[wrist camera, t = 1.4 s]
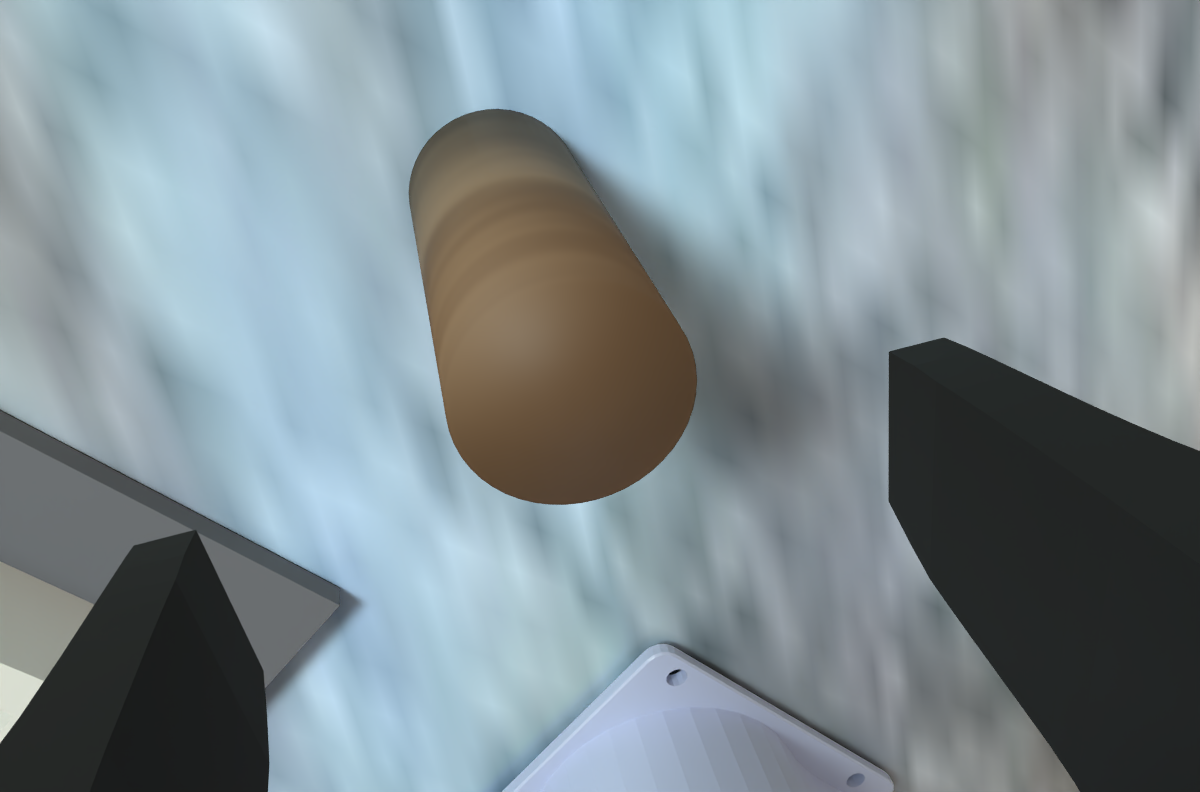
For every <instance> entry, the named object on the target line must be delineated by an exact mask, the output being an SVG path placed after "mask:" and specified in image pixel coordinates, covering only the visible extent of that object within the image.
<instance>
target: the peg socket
mask: <svg viewBox="0 0 1200 792" xmlns="http://www.w3.org/2000/svg"><path fill="white" fill-rule="evenodd" d="M192 530H196V531H197V533H198V535H199V537H200V539H201V541H202V543H203V545H204V547H205V549H206V551H207V554H208V556H209V558H210V560H211V562H212V564H213V566H214V568H215V570H216V572H217V574H218V576H219V579H220V581H221V583H222V585H223V587H224V589H225V591H226V593H227V595H228V597H229V599H230V602H231V604H232V606H233V608H234V610H235V612H236V614H237V616H238V618H239V620H240V622H241V625H242V627H243V629H244V631H245V633H246V635H247V637H248V639H249V641H250V643H251V645H252V648H253V650H254V652H255V654H256V656H257V658H258V660H259V662H260V664H261V666H262V668H263V671H264V684H265V688H266V687H267V686H268V685H269V684H270V682H271V681H272V680H273V679H274V678H275V677H276V676H277V675H278V674H279V672H280V671H281V670H282V669H283V668H284V667H285V666H286V665H287V664H288V662H289V661H290V660H291V659H292V658H293V657H294V656H295V655H296V654H297V652H298V651H299V650H300V649H301V648H302V647H303V646H304V645H305V644H306V642H307V641H308V640H309V639H310V638H311V637H312V636H313V635H314V634H315V632H316V631H317V630H318V629H319V628H320V627H321V626H322V625H323V624H324V622H325V621H326V620H327V619H328V618H329V617H330V616H331V615H332V614H333V612H334V611H335V610H336V609H337V608H338V607H339V606H340V588H339V587H337V586H335V585H333V584H331V583H329V582H327V581H325V580H323V579H322V578H320V577H318V576H316V575H314V574H312V573H310V572H308V571H306V570H304V569H302V568H300V567H299V566H297V565H295V564H293V563H291V562H289V561H287V560H285V559H283V558H281V557H279V556H278V555H276V554H274V553H272V552H270V551H268V550H266V549H264V548H262V547H260V546H258V545H256V544H255V543H253V542H251V541H249V540H247V539H245V538H243V537H241V536H239V535H237V534H235V533H233V532H232V531H230V530H228V529H226V528H224V527H222V526H220V525H218V524H216V523H214V522H212V521H210V520H209V519H207V518H205V517H203V516H201V515H199V514H197V513H195V512H193V511H191V510H189V509H188V508H186V507H184V506H182V505H180V504H178V503H176V502H174V501H172V500H170V499H168V498H166V497H165V496H163V495H161V494H159V493H157V492H155V491H153V490H151V489H149V488H147V487H145V486H143V485H142V484H140V483H138V482H136V481H134V480H132V479H130V478H128V477H126V476H124V475H122V474H121V473H119V472H117V471H115V470H113V469H111V468H109V467H107V466H105V465H103V464H101V463H99V462H98V461H96V460H94V459H92V458H90V457H88V456H86V455H84V454H82V453H80V452H78V451H76V450H75V449H73V448H71V447H69V446H67V445H65V444H63V443H61V442H59V441H57V440H55V439H54V438H52V437H50V436H48V435H46V434H44V433H42V432H40V431H38V430H36V429H34V428H32V427H31V426H29V425H27V424H25V423H23V422H21V421H19V420H17V419H15V418H13V417H11V416H9V415H8V414H6V413H4V412H2V411H0V743H1V741H2V740H3V739H4V737H5V736H6V735H7V733H8V732H9V730H10V729H11V728H12V726H13V725H14V724H15V722H16V721H17V720H18V718H19V717H20V716H21V714H22V713H23V711H24V710H25V708H26V707H27V705H28V704H29V702H30V701H31V699H32V698H33V696H34V695H35V694H36V692H37V691H38V689H39V688H40V686H41V685H42V683H43V682H44V680H45V679H46V677H47V676H48V674H49V673H50V671H51V670H52V668H53V667H54V665H55V664H56V663H57V661H58V660H59V658H60V657H61V655H62V654H63V652H64V650H65V649H66V647H67V646H68V644H69V643H70V641H71V640H72V638H73V637H74V635H75V634H76V632H77V631H78V629H79V627H80V626H81V624H82V623H83V621H84V620H85V618H86V617H87V615H88V614H89V612H90V611H91V609H92V607H93V606H94V604H95V603H96V601H97V600H98V598H99V597H100V595H101V594H102V592H103V591H104V589H105V587H106V586H107V584H108V583H109V581H110V580H111V578H112V577H113V575H114V574H115V572H116V571H117V569H118V568H119V566H120V565H121V563H122V562H123V560H124V559H125V557H126V556H127V554H128V553H129V551H130V550H131V548H132V547H133V546H134V545H138V544H141V543H145V542H149V541H153V540H157V539H161V538H165V537H169V536H173V535H176V534H180V533H184V532H188V531H192Z"/></svg>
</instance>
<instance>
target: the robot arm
mask: <svg viewBox="0 0 1200 792" xmlns="http://www.w3.org/2000/svg"><path fill="white" fill-rule="evenodd" d="M889 503H890V505H891V507H892V509H893V511H894V513H895V515H896V516H897V518H898V520H899V522H900V524H901V526H902V528H903V530H904V532H905V534H906V536H907V538H908V540H909V542H910V544H911V546H912V547H913V549H914V551H915V553H916V555H917V556H918V558H919V560H920V562H921V564H922V565H923V567H924V569H925V571H926V573H927V575H928V576H929V578H930V580H931V581H932V583H933V584H934V585H935V587H936V588H937V590H938V591H939V593H940V594H941V595H942V597H943V598H944V600H945V601H946V603H947V604H948V605H949V607H950V608H951V610H952V611H953V612H954V614H955V615H956V617H957V618H958V619H959V621H960V622H961V624H962V625H963V626H964V628H965V629H966V631H967V632H968V633H969V635H970V636H971V638H972V639H973V640H974V642H975V643H976V644H977V646H978V647H979V649H980V650H981V651H982V653H983V654H984V655H985V657H986V658H987V660H988V661H989V662H990V664H991V665H992V666H993V668H994V669H995V671H996V672H997V673H998V675H999V676H1000V677H1001V679H1002V680H1003V682H1004V683H1005V684H1006V686H1007V687H1008V688H1009V690H1010V691H1011V693H1012V694H1013V695H1014V697H1015V698H1016V699H1017V701H1018V702H1019V704H1020V705H1021V706H1022V708H1023V709H1024V710H1025V712H1026V713H1027V715H1028V716H1029V717H1030V719H1031V720H1032V721H1033V723H1034V724H1035V726H1036V727H1037V728H1038V730H1039V731H1040V732H1041V734H1042V735H1043V737H1044V738H1045V739H1046V741H1047V742H1048V743H1049V745H1050V746H1051V748H1052V749H1053V751H1054V752H1055V754H1056V755H1057V757H1058V758H1059V760H1060V761H1061V763H1062V764H1063V766H1064V767H1065V769H1066V770H1067V772H1068V773H1069V775H1070V776H1071V778H1072V779H1073V781H1074V782H1075V784H1076V786H1077V787H1078V789H1079V791H1080V792H1200V451H1198V450H1195V449H1193V448H1190V447H1188V446H1185V445H1183V444H1180V443H1177V442H1175V441H1172V440H1170V439H1168V438H1165V437H1163V436H1161V435H1158V434H1156V433H1154V432H1151V431H1149V430H1146V429H1144V428H1142V427H1139V426H1137V425H1135V424H1132V423H1130V422H1128V421H1126V420H1123V419H1121V418H1119V417H1117V416H1114V415H1112V414H1110V413H1108V412H1105V411H1103V410H1101V409H1099V408H1097V407H1094V406H1092V405H1090V404H1088V403H1086V402H1083V401H1081V400H1079V399H1077V398H1075V397H1073V396H1071V395H1068V394H1066V393H1064V392H1062V391H1060V390H1058V389H1056V388H1053V387H1051V386H1049V385H1047V384H1045V383H1043V382H1041V381H1039V380H1037V379H1034V378H1032V377H1030V376H1028V375H1026V374H1024V373H1022V372H1020V371H1017V370H1015V369H1013V368H1011V367H1009V366H1007V365H1005V364H1003V363H1001V362H998V361H996V360H994V359H992V358H990V357H988V356H986V355H983V354H981V353H979V352H977V351H975V350H972V349H970V348H968V347H966V346H963V345H961V344H958V343H956V342H954V341H951V340H949V339H946V338H940V339H936V340H933V341H929V342H925V343H921V344H917V345H913V346H909V347H905V348H901V349H897V350H894V351H890V352H889ZM678 669H681V670H680V671H679V672H678V673H676V674H672V675H669V673H670V672H672V671H674V670H678ZM268 778H269V747H268V727H267V711H266V697H265V684H264V671H263V668H262V666H261V664H260V662H259V660H258V658H257V656H256V654H255V652H254V650H253V648H252V645H251V643H250V641H249V639H248V637H247V635H246V633H245V631H244V629H243V627H242V625H241V622H240V620H239V618H238V616H237V614H236V612H235V610H234V608H233V606H232V604H231V602H230V599H229V597H228V595H227V593H226V591H225V589H224V587H223V585H222V583H221V581H220V579H219V576H218V574H217V572H216V570H215V568H214V566H213V564H212V562H211V560H210V558H209V556H208V554H207V551H206V549H205V547H204V545H203V543H202V541H201V539H200V537H199V535H198V533H197V531H196V530H192V531H188V532H184V533H180V534H176V535H173V536H169V537H165V538H161V539H157V540H153V541H149V542H145V543H141V544H138V545H134V546H133V547H132V548H131V550H130V551H129V553H128V554H127V556H126V557H125V559H124V560H123V562H122V563H121V565H120V566H119V568H118V569H117V571H116V572H115V574H114V575H113V577H112V578H111V580H110V581H109V583H108V584H107V586H106V587H105V589H104V591H103V592H102V594H101V595H100V597H99V598H98V600H97V601H96V603H95V604H94V606H93V607H92V609H91V611H90V612H89V614H88V615H87V617H86V618H85V620H84V621H83V623H82V624H81V626H80V627H79V629H78V631H77V632H76V634H75V635H74V637H73V638H72V640H71V641H70V643H69V644H68V646H67V647H66V649H65V650H64V652H63V654H62V655H61V657H60V658H59V660H58V661H57V663H56V664H55V665H54V667H53V668H52V670H51V671H50V673H49V674H48V676H47V677H46V679H45V680H44V682H43V683H42V685H41V686H40V688H39V689H38V691H37V692H36V694H35V695H34V696H33V698H32V699H31V701H30V702H29V704H28V705H27V707H26V708H25V710H24V711H23V713H22V714H21V716H20V717H19V718H18V720H17V721H16V722H15V724H14V725H13V726H12V728H11V729H10V730H9V732H8V733H7V735H6V736H5V737H4V739H3V740H2V741H1V743H0V792H268ZM893 790H894V784H893V782H892V780H891V778H890V776H889V775H888V774H887V773H886V772H885V771H883V770H881V769H880V768H878V767H876V766H875V765H873V764H871V763H870V762H868V761H866V760H865V759H863V758H861V757H859V756H858V755H856V754H854V753H853V752H851V751H849V750H848V749H846V748H844V747H843V746H841V745H839V744H837V743H836V742H834V741H832V740H831V739H829V738H827V737H826V736H824V735H822V734H821V733H819V732H817V731H816V730H814V729H812V728H810V727H809V726H807V725H805V724H804V723H802V722H800V721H799V720H797V719H795V718H794V717H792V716H790V715H788V714H787V713H785V712H783V711H782V710H780V709H778V708H777V707H775V706H773V705H772V704H770V703H768V702H766V701H765V700H763V699H761V698H760V697H758V696H756V695H755V694H753V693H751V692H750V691H748V690H746V689H745V688H743V687H741V686H739V685H738V684H736V683H734V682H733V681H731V680H729V679H728V678H726V677H724V676H723V675H721V674H719V673H717V672H716V671H714V670H712V669H711V668H709V667H707V666H706V665H704V664H702V663H701V662H699V661H697V660H696V659H694V658H692V657H690V656H689V655H687V654H685V653H684V652H682V651H680V650H679V649H677V648H675V647H674V646H671V645H668V644H657V645H654V646H651V647H649V648H648V649H647V650H645V651H644V652H643V653H642V654H641V655H640V656H639V657H638V658H637V659H636V660H635V661H634V662H633V663H632V664H631V665H630V666H629V667H628V668H627V669H626V670H625V671H624V672H623V673H622V674H621V675H620V676H619V677H618V678H617V679H616V680H615V681H614V682H612V683H611V684H610V685H609V686H608V687H607V688H606V689H605V690H604V691H603V692H602V693H601V694H600V695H599V696H598V697H597V698H596V699H595V700H594V701H593V702H592V703H591V704H590V705H589V706H588V707H587V708H586V709H585V710H584V711H583V712H582V713H581V714H580V715H579V716H578V717H577V718H576V719H575V720H574V721H573V722H572V723H571V724H570V725H569V726H568V727H567V728H566V729H565V730H564V731H563V732H562V733H561V734H560V735H559V736H558V737H557V738H556V739H555V740H554V741H553V742H552V743H551V744H550V745H549V746H548V747H547V748H546V749H545V750H544V751H543V752H541V753H540V754H539V755H538V756H537V757H536V758H535V759H534V760H533V761H532V762H531V763H530V764H529V765H528V766H527V767H526V768H525V769H524V770H523V771H522V772H521V773H520V774H519V775H518V776H517V777H516V778H515V779H514V780H513V781H512V782H511V783H510V784H509V785H508V786H507V787H506V788H505V789H504V790H503V791H502V792H893Z"/></svg>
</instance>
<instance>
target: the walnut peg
mask: <svg viewBox="0 0 1200 792" xmlns="http://www.w3.org/2000/svg"><path fill="white" fill-rule="evenodd" d="M409 202H410V209H411V215H412V221H413V227H414V233H415V239H416V245H417V250H418V256H419V262H420V268H421V274H422V280H423V285H424V291H425V297H426V303H427V309H428V315H429V320H430V326H431V332H432V338H433V344H434V350H435V356H436V361H437V367H438V373H439V379H440V385H441V391H442V396H443V402H444V408H445V414H446V419H447V424H448V428H449V432H450V435H451V437H452V440H453V443H454V445H455V447H456V448H457V450H458V452H459V454H460V456H461V457H462V458H463V460H464V461H465V462H466V464H467V465H468V466H469V467H470V469H472V470H473V471H474V472H475V473H476V474H477V475H478V476H479V477H480V478H481V479H482V480H484V481H485V482H487V483H488V484H489V485H491V486H492V487H494V488H496V489H498V490H500V491H501V492H503V493H505V494H508V495H510V496H513V497H516V498H518V499H522V500H526V501H530V502H534V503H542V504H556V505H566V504H576V503H583V502H588V501H592V500H597V499H600V498H603V497H606V496H609V495H612V494H614V493H616V492H618V491H621V490H623V489H625V488H627V487H628V486H630V485H632V484H634V483H635V482H637V481H639V480H640V479H641V478H643V477H644V476H646V475H647V474H648V473H650V472H651V471H652V470H653V469H654V468H655V467H656V466H658V465H659V464H660V463H661V462H662V461H663V460H664V459H665V457H666V456H667V455H668V454H669V453H670V452H671V450H672V449H673V448H674V446H675V445H676V443H677V442H678V440H679V439H680V437H681V436H682V434H683V432H684V430H685V428H686V426H687V424H688V422H689V419H690V416H691V413H692V410H693V407H694V402H695V397H696V387H697V375H696V365H695V360H694V356H693V352H692V349H691V347H690V344H689V342H688V339H687V337H686V335H685V334H684V332H683V330H682V329H681V327H680V325H679V324H678V322H677V321H676V319H675V317H674V316H673V314H672V313H671V311H670V309H669V308H668V306H667V305H666V303H665V302H664V300H663V298H662V297H661V295H660V294H659V292H658V290H657V289H656V287H655V286H654V284H653V283H652V281H651V279H650V278H649V276H648V275H647V273H646V271H645V270H644V268H643V267H642V265H641V264H640V262H639V260H638V259H637V257H636V256H635V254H634V253H633V251H632V249H631V248H630V246H629V245H628V243H627V241H626V240H625V238H624V237H623V235H622V234H621V232H620V230H619V229H618V227H617V226H616V224H615V222H614V221H613V219H612V218H611V216H610V215H609V213H608V211H607V210H606V208H605V207H604V205H603V204H602V202H601V200H600V199H599V197H598V196H597V194H596V192H595V191H594V189H593V188H592V186H591V185H590V183H589V181H588V180H587V178H586V177H585V175H584V173H583V172H582V170H581V169H580V167H579V166H578V164H577V162H576V161H575V159H574V158H573V156H572V154H571V153H570V151H569V150H568V148H567V147H566V145H565V144H564V142H563V141H562V140H561V139H560V137H559V136H558V135H557V134H556V133H555V132H554V131H553V130H552V129H550V128H549V127H548V126H546V125H545V124H544V123H542V122H541V121H539V120H537V119H535V118H533V117H531V116H528V115H526V114H523V113H520V112H516V111H511V110H503V109H487V110H481V111H475V112H472V113H469V114H466V115H463V116H461V117H459V118H457V119H454V120H453V121H451V122H449V123H448V124H446V125H445V126H443V127H442V128H441V129H440V130H438V131H437V132H436V133H435V134H434V135H433V136H432V137H431V138H430V139H429V140H428V142H427V143H426V144H425V146H424V147H423V149H422V150H421V152H420V154H419V156H418V157H417V159H416V161H415V164H414V167H413V170H412V174H411V178H410V184H409Z"/></svg>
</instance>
